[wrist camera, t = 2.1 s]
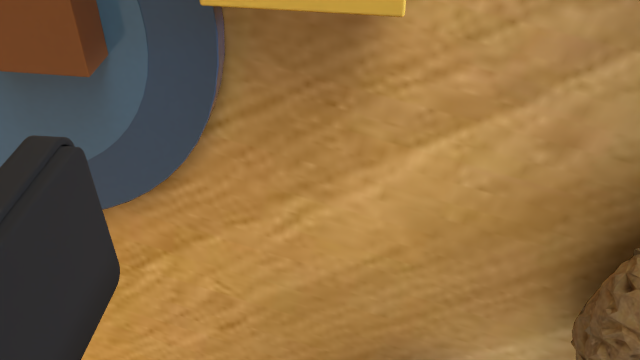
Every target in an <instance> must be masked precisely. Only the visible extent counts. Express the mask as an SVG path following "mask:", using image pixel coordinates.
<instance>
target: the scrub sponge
mask: <svg viewBox="0 0 640 360" xmlns="http://www.w3.org/2000/svg"><path fill="white" fill-rule="evenodd" d="M200 4H201V5H202V6H220V7H237V8H255V9H272V10H290V11H307V12H324V13H342V14H359V15H377V16H394V17H403V16H404V14H405V5H406V0H200Z"/></svg>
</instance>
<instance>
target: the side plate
mask: <svg viewBox="0 0 640 360" xmlns="http://www.w3.org/2000/svg"><path fill="white" fill-rule="evenodd" d="M96 2H97V7H98V11H99V16H100V20H101V24H102V29H103V33H104V38H105V42H106V47H107V51H108V56H107V57H106V58H105V59H104V61H103V62H102V63H101V64H100V65H99V67H98V68H97V69H96V70H95V71H94V73H93V74H92V75H91V76H90V77H77V76H63V75H48V74H33V73H18V72H4V71H0V167H1V166H2V165H3V164H4V163H5V161H6V160H7V159H8V158H9V157H10V156H11V154H12V153H13V152H14V151H15V150H16V149H17V148H18V146H19V145H20V144H21V143H22V142H23V141H24V140H25V139H26V138H27V137H28V136H33V135H35V136H53V137H66V138H69V139H70V140H71V141H72V142H73V144H74V146H75V147H79V148H81V149H82V150H83V151H84V153H85V156H86V159H87V162H88V166H89V169H90V172H91V175H92V178H93V182H94V185H95V188H96V191H97V195H98V198H99V201H100V204H101V207H102V210H103V209H108V208H111V207H114V206H117V205H120V204H123V203H126V202H129V201H131V200H133V199H135V198H137V197H139V196H141V195H143V194H145V193H147V192H149V191H151V190H152V189H153V188H155V187H156V186H157V185H159V184H160V183H162V182H163V181H164V180H166V179H167V178H169V177H170V176H171V175H172V174H173V173H174V172H175V171H176V170H177V169H178V168H179V166H180V165H181V164H182V163H183V162H184V161H185V160H186V159H187V157H188V156H189V154H190V153H191V151H192V150H193V149H194V147H195V146H196V144H197V143H198V141H199V139H200V137H201V135H202V133H203V130H204V128H205V126H206V124H207V122H208V120H209V118H210V116H211V113H212V111H213V109H214V107H215V103H216V100H217V96H218V92H219V89H220V85H221V81H222V73H223V64H224V56H225V46H224V21H223V14H222V8H221V7H220V6H202V5H201V4H200V0H96Z"/></svg>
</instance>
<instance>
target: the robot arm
mask: <svg viewBox="0 0 640 360" xmlns="http://www.w3.org/2000/svg"><path fill="white" fill-rule="evenodd" d="M119 276H120V267H119V262H118V259H117V256H116V253H115V249H114V246H113V243H112V240H111V236H110V233H109V230H108V227H107V224H106V220H105V217H104V214H103V211H102V207H101V204H100V201H99V198H98V195H97V191H96V188H95V185H94V182H93V178H92V175H91V172H90V169H89V166H88V162H87V159H86V156H85V153H84V151H83V150H82V149H81V148H79V147H75V146H74V144H73V142H72V141H71V140H70V139H69V138H66V137H53V136H35V135H33V136H28V137H27V138H26V139H25V140H24V141H23V142H22V143H21V144H20V145H19V146H18V148H17V149H16V150H15V151H14V152H13V153H12V154H11V156H10V157H9V158H8V159H7V160H6V161H5V163H4V164H3V165H2V166H1V167H0V360H81V358H82V356H83V354H84V352H85V350H86V348H87V346H88V344H89V342H90V340H91V338H92V336H93V334H94V332H95V330H96V328H97V326H98V324H99V322H100V320H101V318H102V316H103V314H104V312H105V310H106V308H107V305H108V303H109V301H110V299H111V297H112V295H113V293H114V291H115V289H116V287H117V284H118V281H119Z"/></svg>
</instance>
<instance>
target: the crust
mask: <svg viewBox="0 0 640 360" xmlns="http://www.w3.org/2000/svg"><path fill="white" fill-rule="evenodd" d="M107 56H108V51H107V47H106V42H105V38H104V33H103V29H102V24H101V20H100V16H99V11H98V7H97V2H96V0H0V71H4V72H18V73H33V74H48V75H63V76H77V77H90V76H91V75H92V74H93V73H94V71H95V70H96V69H97V68H98V67H99V65H100V64H101V63H102V62H103V61H104V59H105V58H106V57H107Z"/></svg>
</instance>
